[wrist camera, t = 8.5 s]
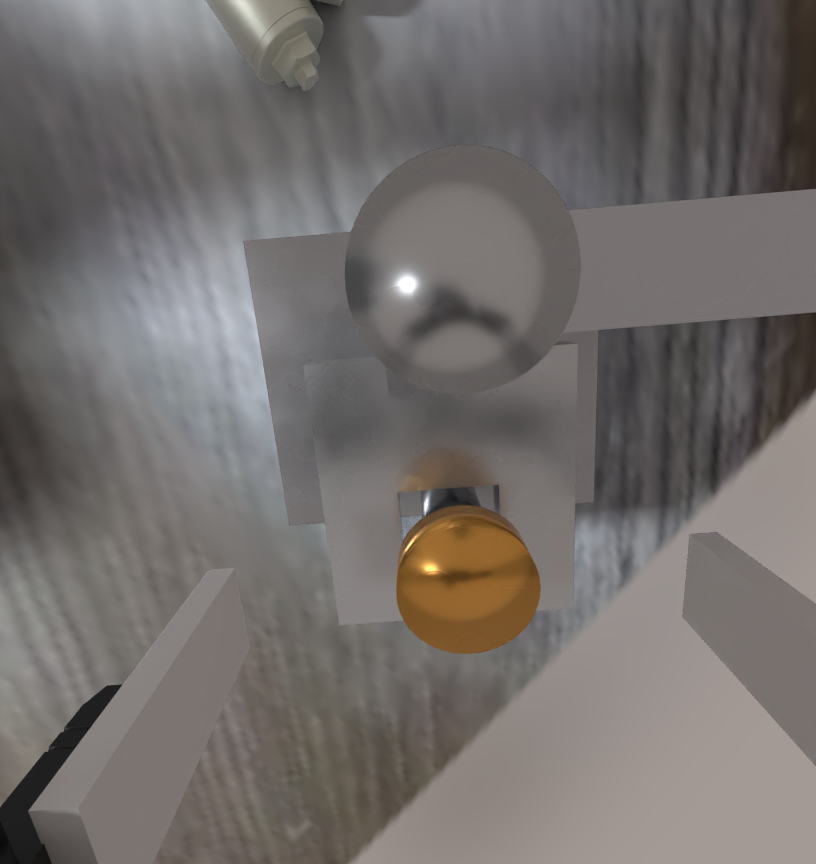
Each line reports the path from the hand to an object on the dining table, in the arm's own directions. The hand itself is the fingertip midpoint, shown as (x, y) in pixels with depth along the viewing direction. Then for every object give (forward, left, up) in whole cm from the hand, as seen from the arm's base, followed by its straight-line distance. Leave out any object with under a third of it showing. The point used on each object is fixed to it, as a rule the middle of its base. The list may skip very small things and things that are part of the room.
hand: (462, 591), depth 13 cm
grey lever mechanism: (+3, +4, -12) cm, 13 cm away
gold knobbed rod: (0, 0, -10) cm, 11 cm away
